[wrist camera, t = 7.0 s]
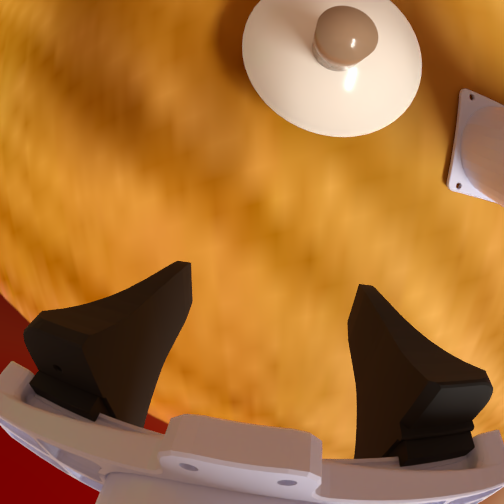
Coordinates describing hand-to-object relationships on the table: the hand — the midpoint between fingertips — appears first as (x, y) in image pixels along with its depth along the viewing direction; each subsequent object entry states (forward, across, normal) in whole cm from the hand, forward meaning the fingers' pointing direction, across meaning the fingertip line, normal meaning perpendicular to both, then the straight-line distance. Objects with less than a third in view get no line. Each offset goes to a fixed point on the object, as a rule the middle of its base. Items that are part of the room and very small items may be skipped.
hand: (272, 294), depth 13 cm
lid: (+7, -2, -11) cm, 13 cm away
